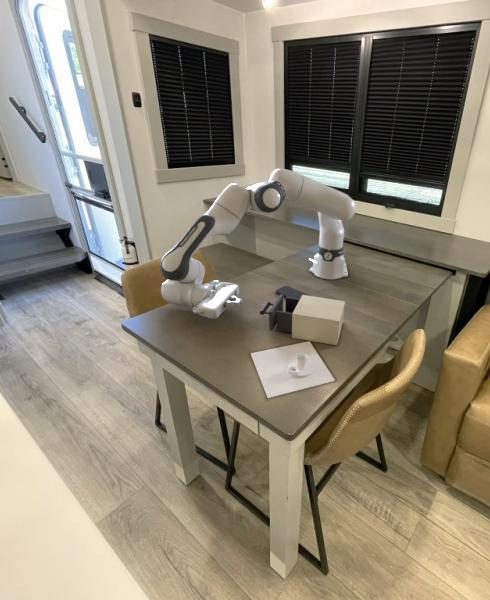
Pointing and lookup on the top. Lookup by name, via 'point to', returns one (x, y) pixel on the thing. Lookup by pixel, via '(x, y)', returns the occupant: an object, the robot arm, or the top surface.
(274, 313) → the drawer
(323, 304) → the cabinet
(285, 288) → the phone
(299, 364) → the teacup and saucer
